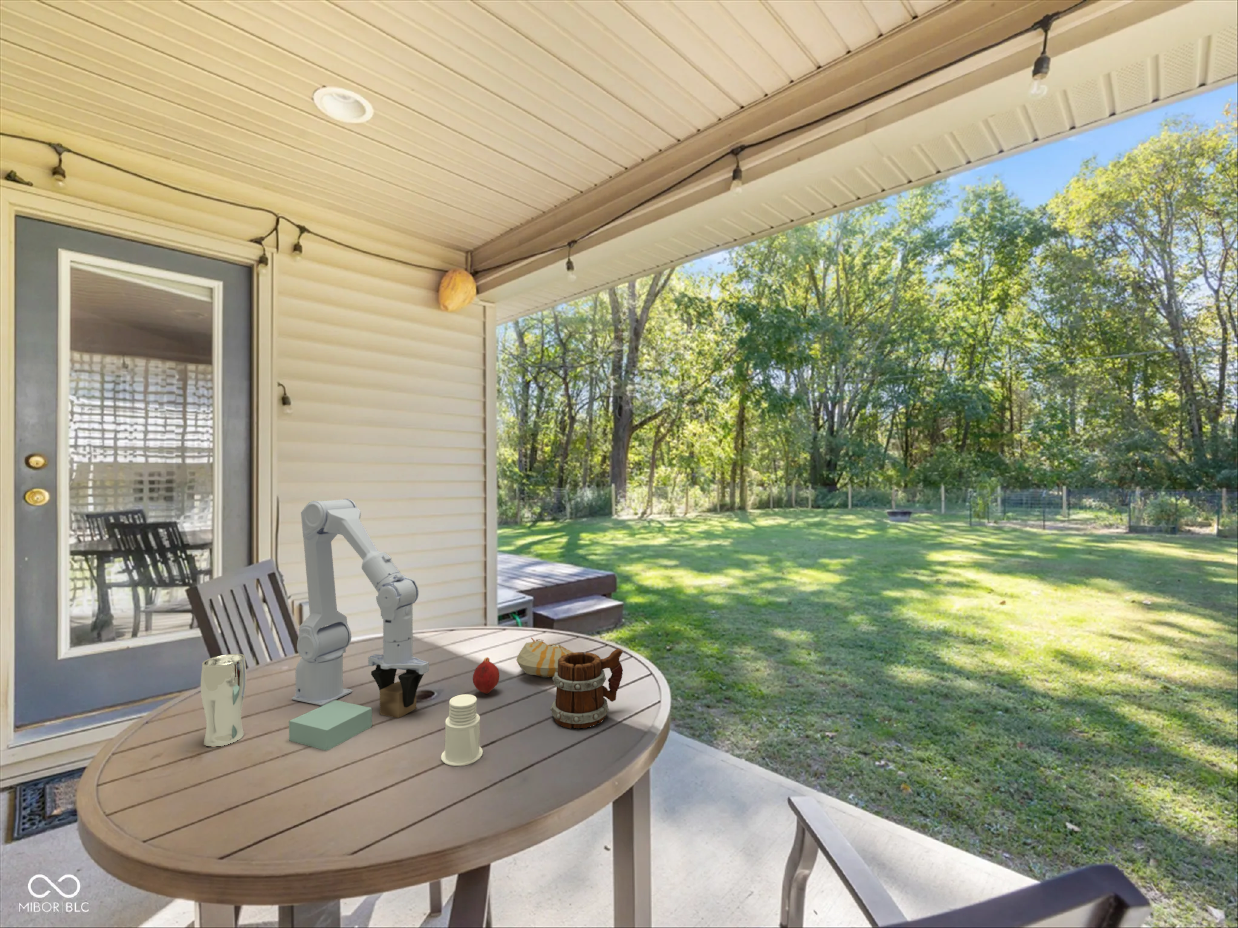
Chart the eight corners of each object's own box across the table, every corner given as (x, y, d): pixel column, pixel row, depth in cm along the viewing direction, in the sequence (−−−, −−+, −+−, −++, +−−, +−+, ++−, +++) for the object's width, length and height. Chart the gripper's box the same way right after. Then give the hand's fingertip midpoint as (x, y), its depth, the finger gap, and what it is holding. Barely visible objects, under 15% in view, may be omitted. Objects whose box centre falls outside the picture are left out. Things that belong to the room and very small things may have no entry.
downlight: (432, 754, 96) (433, 698, 96) (468, 740, 101) (469, 686, 101) (454, 773, 90) (455, 714, 90) (491, 758, 95) (492, 701, 95)
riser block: (289, 742, 102) (289, 720, 102) (335, 719, 111) (335, 699, 111) (326, 752, 98) (326, 730, 98) (371, 728, 107) (371, 707, 107)
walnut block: (379, 714, 112) (379, 690, 112) (397, 704, 117) (397, 681, 117) (398, 718, 110) (398, 693, 111) (416, 708, 115) (416, 684, 115)
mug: (541, 708, 114) (553, 636, 115) (605, 710, 118) (616, 641, 119) (552, 733, 103) (564, 653, 104) (622, 735, 107) (634, 658, 108)
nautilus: (510, 662, 144) (566, 659, 148) (519, 687, 123) (584, 683, 128) (511, 631, 145) (567, 629, 149) (521, 652, 124) (585, 648, 128)
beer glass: (255, 733, 104) (255, 655, 105) (218, 751, 98) (218, 667, 98) (229, 728, 107) (229, 651, 107) (191, 745, 100) (191, 663, 100)
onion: (492, 699, 119) (492, 663, 119) (468, 697, 120) (468, 661, 120) (503, 689, 125) (503, 654, 125) (480, 687, 126) (479, 652, 126)
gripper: (356, 640, 113) (356, 705, 113) (411, 647, 108) (411, 716, 107) (382, 630, 119) (382, 692, 119) (435, 637, 114) (436, 702, 114)
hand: (398, 703), depth 114 cm, fingers closed on walnut block, 5 cm apart
